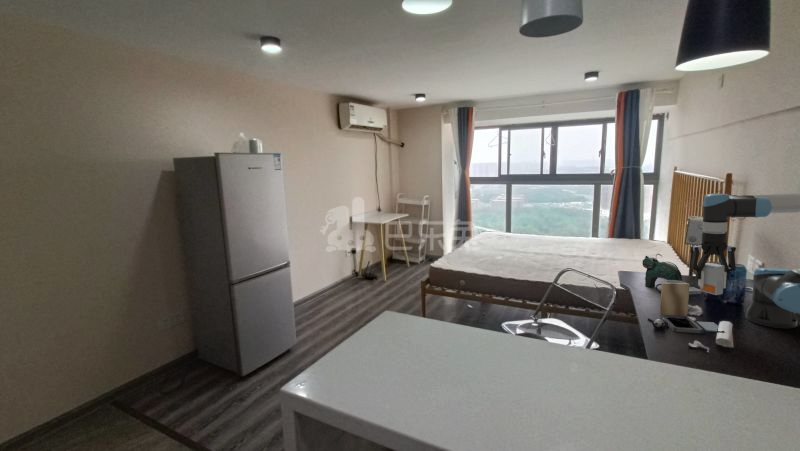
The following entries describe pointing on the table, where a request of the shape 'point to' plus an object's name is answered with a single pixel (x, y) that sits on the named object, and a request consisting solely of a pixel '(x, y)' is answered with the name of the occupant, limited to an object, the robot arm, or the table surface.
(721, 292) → the skincare box
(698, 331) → the grey picture frame
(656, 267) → the ceramic cat
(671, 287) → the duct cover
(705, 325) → the rubber mat
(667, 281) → the coffee mug
